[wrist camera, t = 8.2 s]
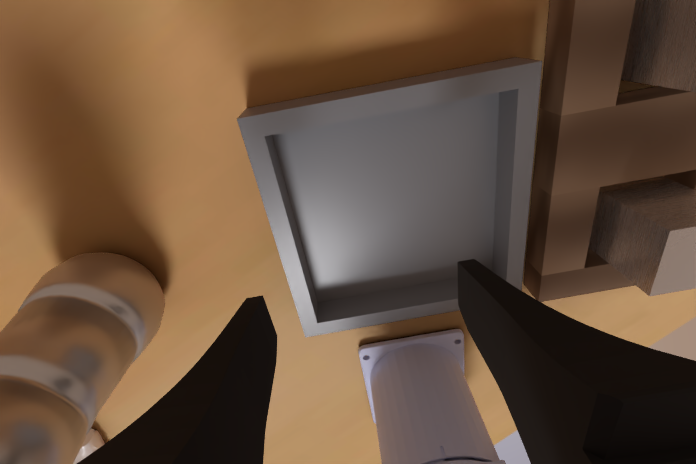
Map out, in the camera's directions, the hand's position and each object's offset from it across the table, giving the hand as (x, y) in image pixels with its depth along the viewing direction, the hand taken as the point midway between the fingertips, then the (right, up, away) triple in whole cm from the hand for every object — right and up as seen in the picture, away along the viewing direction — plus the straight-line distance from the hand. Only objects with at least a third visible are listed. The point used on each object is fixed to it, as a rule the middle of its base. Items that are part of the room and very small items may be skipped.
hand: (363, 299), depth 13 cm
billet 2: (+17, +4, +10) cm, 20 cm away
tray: (+2, +4, +9) cm, 10 cm away
